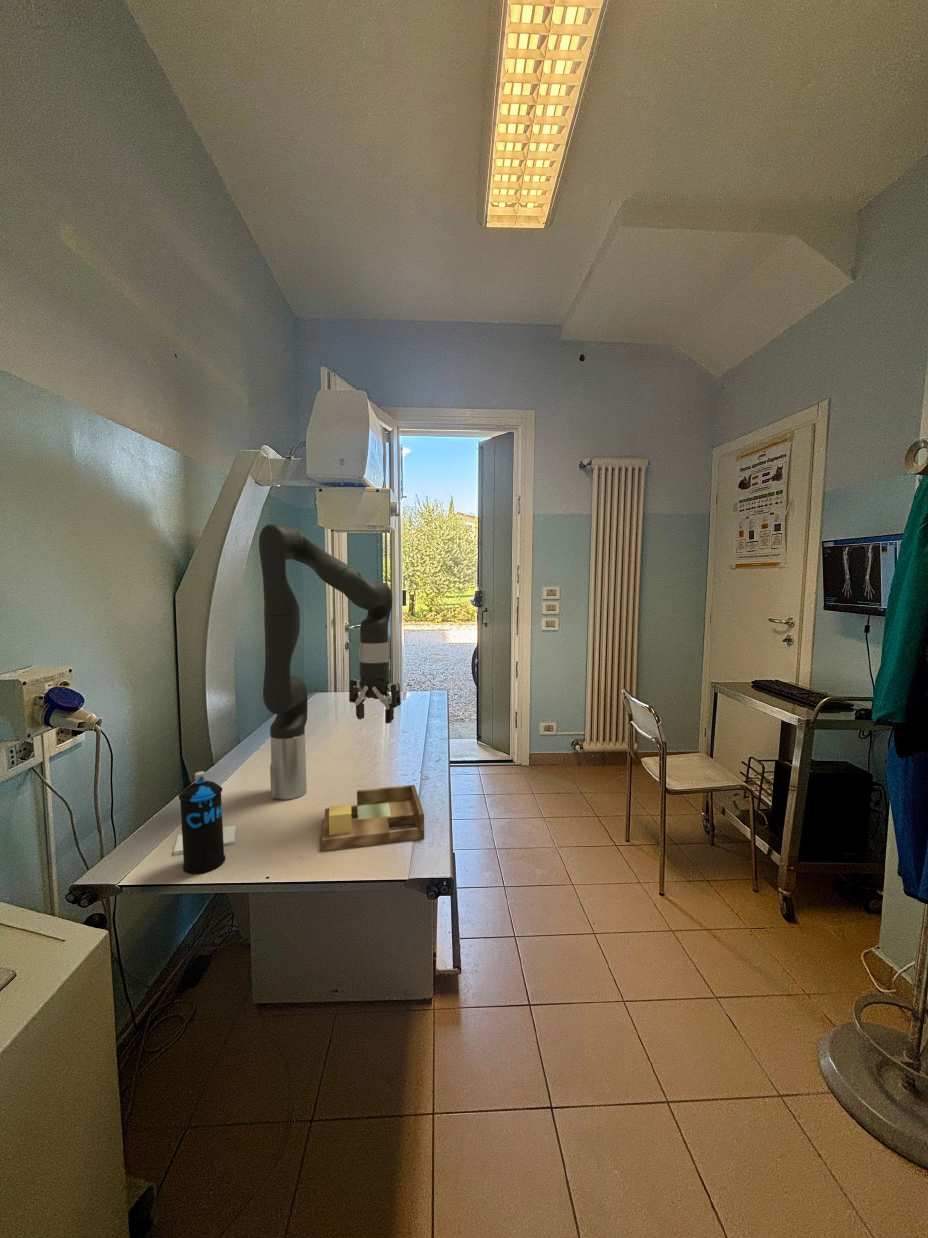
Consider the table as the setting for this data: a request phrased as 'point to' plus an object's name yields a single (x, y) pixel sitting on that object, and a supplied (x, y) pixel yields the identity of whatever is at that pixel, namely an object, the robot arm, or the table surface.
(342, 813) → the block
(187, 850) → the aerosol can
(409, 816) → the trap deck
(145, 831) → the table surface
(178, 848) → the external hard drive
